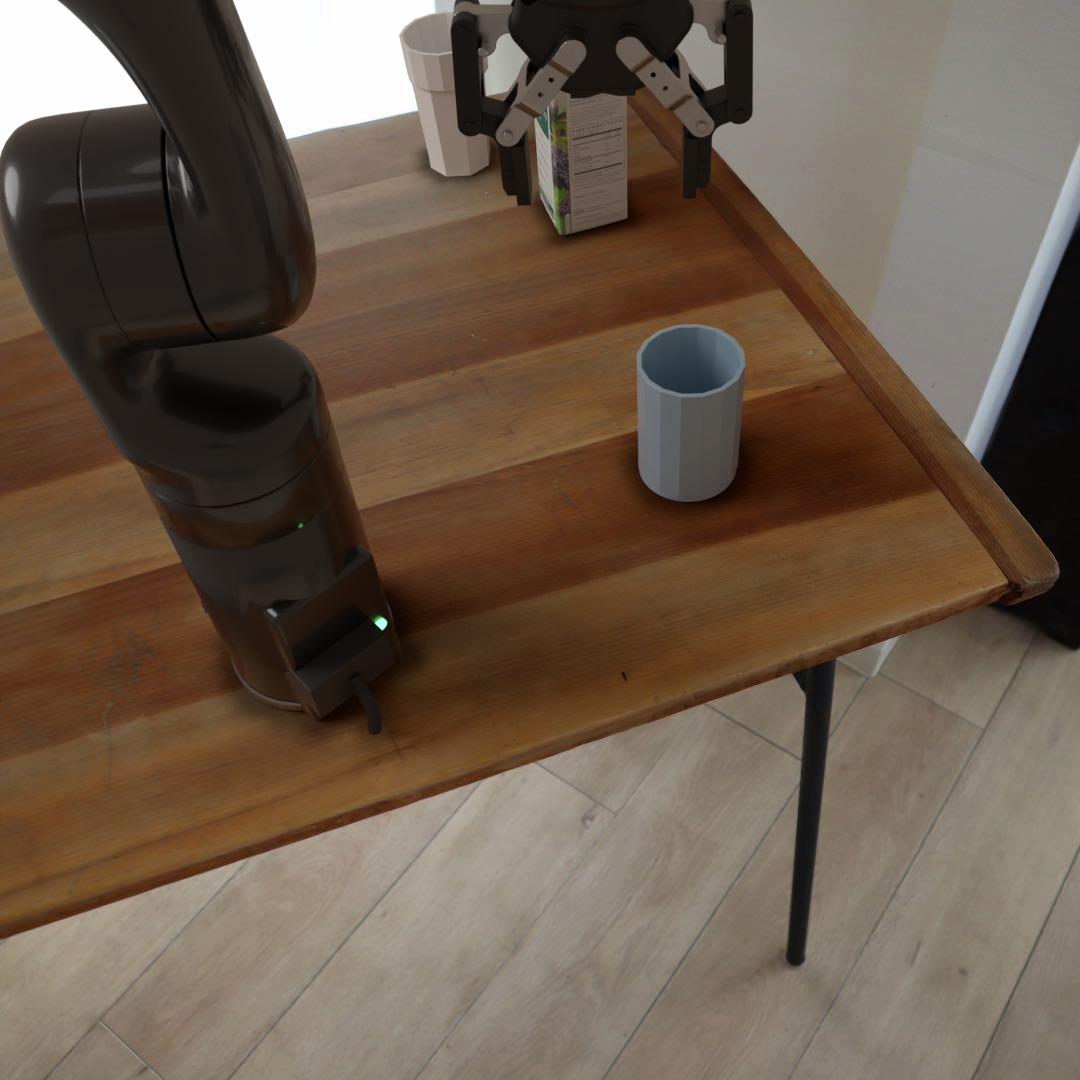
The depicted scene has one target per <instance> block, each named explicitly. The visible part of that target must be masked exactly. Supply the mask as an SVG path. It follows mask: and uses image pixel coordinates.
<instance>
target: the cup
mask: <svg viewBox="0 0 1080 1080" xmlns="http://www.w3.org/2000/svg"><path fill="white" fill-rule="evenodd" d="M452 18H453V11H447V10H445V11H440V12H435V13H429V14H426V15H423V16H420V17H418V18H414V19H413V20H412V21H410V22H409V23H408V24H406V25H405V26H404V27H403V28H402V30H401V31H400V33H399V34H398V37H399V41H400V46H401V51H402V55H403V59H404V65H405V69H406V74H407V76H408V81H410V83H411V86H412V89H413V94H414V98H415V103H416V107H417V111H418V117H419V120H420V124H421V127H422V128H421V129H422V133H423V137H424V141H425V145H426V150H427V155H428V160H429V165H430V168H431V169H433V170H434V171H436V172H438V173H439V174H441V175H442V176H444V177H445V178H449V177H450V178H451V177H468V176H469V177H470V176H472V175H474V174H476V173H478V172H479V171H481V170H483V169H484V168H486V167H488V166H490V158H491V157H490V156H491V146H490V145H491V144H490V137H489V136H487V135H483V134H478V135H476V136H473V137H469V136H465V135H463V134H462V133H461V132H460V131H459V129H458V123H457V110H456V97H455V84H454V71H453V58H452V45H451V24H452ZM488 57H489V56H486V57H483V67H484V85H485V96H486V97H487V88H486V87H487V86H486V72H487V70H488V69H489V58H488Z"/></svg>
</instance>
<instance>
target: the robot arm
mask: <svg viewBox="0 0 1080 1080" xmlns="http://www.w3.org/2000/svg"><path fill="white" fill-rule="evenodd" d="M57 1H58V2H59V4H61V5H63V6H64V7H65V8H66V9H67V10H68V11H69V12H70V13H71V14H72V15H73V16H75V18H77V20H79V21H80V22H81V23H82V24H83V25H84V26H85V27H86V28H87V29H88V30H89V31H90V32H91V33H92V34H93V35H94V36H95V37H96V38H97V40H99V41H100V43H101V44H103V46H104V47H105V48H106V49H107V50H108V52H110V54H111V55H112V56H113V57H114V59H115V60H116V61H117V62H118V64H119V65H120V66H121V67H122V69H123V70H124V71H125V72H126V74H127V75H128V77H129V78H130V79H131V81H132V82H133V84H134V85H135V86H136V88H137V89H138V91H139V92H140V93H141V95H142V96H143V98H144V99H145V101H146V103H139V104H129V105H123V106H115V107H113V106H112V107H104V108H98V109H89V110H80V111H74V112H73V111H72V112H64V113H58V114H52V115H46V116H41V117H38V118H34V119H31V120H28V121H27V122H25V123H22V124H21V125H20V126H18V127H16V128H15V129H14V131H13V132H12V133H11V134H10V136H9V137H8V138H7V140H6V141H5V143H4V145H3V147H2V149H1V152H0V225H1V229H2V230H1V231H2V234H3V237H4V240H5V244H6V247H7V251H8V255H9V257H10V260H11V263H12V267H13V268H14V271H15V273H16V276H17V277H18V280H19V282H20V284H21V286H22V289H23V291H24V293H25V295H26V297H27V300H28V302H29V304H30V306H31V308H32V310H33V312H34V314H35V315H36V317H37V319H38V321H39V322H40V324H41V326H42V327H43V329H44V331H45V333H46V334H47V336H48V338H49V340H50V342H51V344H52V345H53V346H54V348H55V350H56V352H57V353H58V354H59V356H60V358H61V359H62V361H63V363H64V364H65V367H66V368H67V369H68V370H69V372H70V374H71V376H72V377H73V379H74V381H75V382H76V384H77V385H78V387H79V388H80V391H81V392H82V393H83V395H84V397H85V398H86V400H87V403H88V404H89V405H90V407H91V409H92V411H93V413H94V414H95V416H96V418H97V419H98V421H99V423H100V424H101V426H102V429H103V430H104V432H105V434H106V436H107V437H108V439H109V440H110V442H111V444H112V445H113V447H114V448H115V449H116V450H117V452H118V453H119V454H120V455H121V457H123V458H124V459H125V460H126V461H127V462H129V463H130V464H131V465H133V467H134V469H135V471H136V473H137V474H138V477H139V479H140V481H141V483H142V485H143V487H144V489H145V491H146V493H147V495H148V497H149V500H150V501H151V503H152V504H153V507H154V509H155V511H156V513H157V515H158V517H159V519H160V521H161V524H162V526H163V527H164V529H165V531H166V534H167V535H168V537H169V539H170V542H171V544H172V546H173V547H174V549H175V551H176V553H177V555H178V557H179V559H180V561H181V563H182V565H183V567H184V570H185V571H186V573H187V576H188V577H189V578H190V581H191V583H192V586H193V587H194V589H195V592H196V593H197V595H198V597H199V599H200V604H201V607H202V608H203V610H204V612H205V614H206V615H208V617H209V619H210V621H211V623H212V625H213V627H214V629H215V631H216V633H217V635H218V637H219V638H220V640H221V642H222V644H223V646H224V648H225V650H226V651H227V654H228V655H229V657H230V661H231V665H232V667H233V670H234V672H235V674H236V676H237V678H238V679H239V682H240V683H241V685H242V686H243V687H244V689H245V690H246V691H247V692H248V693H249V694H250V695H251V696H253V697H254V698H255V699H257V700H259V701H260V702H262V703H264V704H266V705H268V706H271V707H274V708H277V709H281V710H287V711H298V712H300V711H301V712H304V713H306V714H308V716H309V717H310V718H312V720H314V721H316V722H319V721H321V720H322V719H324V718H325V717H327V716H328V715H330V713H332V712H333V711H334V710H336V709H337V708H338V707H340V706H341V705H343V704H344V703H345V702H346V701H348V700H349V699H350V698H352V697H353V696H357V698H358V699H359V701H360V703H361V705H362V707H363V709H364V712H365V715H366V719H367V732H368V733H369V735H372V736H378V735H379V734H380V733H382V727H383V726H382V721H383V716H382V713H381V710H380V707H379V704H378V701H377V700H376V698H375V696H374V694H373V693H372V691H371V689H370V687H369V685H370V684H371V682H373V681H374V680H375V679H376V678H378V677H379V676H380V675H382V674H384V673H385V672H386V671H387V670H388V669H390V668H391V667H392V666H394V665H395V664H396V663H398V662H399V661H400V660H401V659H402V658H403V651H402V648H401V645H400V641H399V637H398V634H397V631H396V628H395V622H394V617H393V613H392V610H391V607H390V604H389V602H388V600H387V597H386V594H385V591H384V587H383V584H382V580H381V577H380V573H379V571H378V568H377V564H376V561H375V557H374V555H373V553H372V550H371V547H370V544H369V540H368V536H367V533H366V531H365V526H364V524H363V521H362V518H361V517H362V516H361V514H360V511H359V507H358V503H357V501H356V498H355V497H356V496H355V493H354V490H353V487H352V484H351V480H350V477H349V473H348V470H347V467H346V464H345V460H344V456H343V453H342V449H341V446H340V442H339V439H338V435H337V431H336V429H335V426H334V423H333V418H332V416H331V413H330V409H329V406H328V403H327V402H328V401H327V399H326V396H325V392H324V389H323V385H322V382H321V379H320V376H319V375H318V372H317V370H316V368H315V367H314V365H313V363H312V362H311V360H310V359H309V358H308V356H307V355H306V354H305V353H304V352H303V351H302V350H301V349H300V348H298V346H296V345H295V344H294V343H292V342H291V341H289V340H287V339H285V338H284V337H282V336H280V335H278V334H275V333H276V332H279V331H281V330H284V329H287V328H289V327H291V326H292V325H294V324H296V323H297V322H298V321H299V320H300V318H302V316H303V315H305V313H306V311H307V310H308V309H309V306H310V304H311V301H312V300H313V296H314V291H315V286H316V281H317V251H316V240H315V235H314V229H313V223H312V219H311V215H310V210H309V204H308V201H307V198H306V194H305V190H304V187H303V184H302V183H303V182H302V180H301V176H300V174H299V173H300V172H299V170H298V167H297V164H296V161H295V159H294V155H293V153H292V151H291V147H290V144H289V141H288V139H287V136H286V133H285V131H284V128H283V125H282V122H281V121H280V118H279V114H278V112H277V110H276V107H275V105H274V103H273V102H274V101H273V100H272V97H271V95H270V92H269V90H268V87H267V84H266V82H265V81H266V80H265V79H264V77H263V73H262V71H261V69H260V65H259V64H258V61H257V58H256V56H255V54H254V51H253V48H252V45H251V43H250V40H249V38H248V35H247V33H246V30H245V28H244V24H243V22H242V20H241V17H240V14H239V12H238V9H237V7H236V4H235V1H234V0H57ZM452 12H453V18H452V24H451V45H452V58H453V71H454V84H455V97H456V110H457V123H458V129H459V131H460V132H461V133H462V134H463V135H465V136H469V137H473V136H476V135H478V134H483V135H487V136H489V138H491V139H492V140H493V141H494V142H495V143H496V145H497V150H498V159H499V166H500V167H499V168H500V175H501V185H502V189H503V191H504V192H505V194H506V196H507V197H514V196H515V197H516V205H517V207H524V206H527V207H528V206H532V195H533V175H532V174H533V173H532V165H531V164H532V163H531V153H530V144H529V132H528V129H529V128H530V126H531V125H532V124H533V122H535V118H536V117H540V116H541V115H542V114H543V112H544V111H545V109H546V108H547V107H548V105H549V104H550V103H551V101H552V100H553V98H554V97H555V96H556V94H557V93H558V92H559V90H560V91H562V92H565V93H568V94H570V97H571V99H577V98H588V97H592V96H595V95H598V94H602V93H605V94H610V95H615V96H627V97H633V96H635V97H636V95H637V94H636V92H637V91H639V90H641V89H643V88H645V87H646V88H647V90H648V91H650V93H651V94H652V95H653V96H654V97H655V98H656V100H658V101H657V102H659V103H660V104H661V105H662V106H663V108H664V109H665V110H666V111H668V112H672V113H673V114H674V115H675V116H676V117H677V118H678V120H679V121H680V122H681V155H680V157H681V160H680V161H681V162H680V163H681V164H680V165H681V166H680V184H681V197H682V198H681V199H682V200H695V199H697V192H698V191H697V189H706V188H707V186H708V184H709V182H710V180H711V171H712V170H711V167H712V149H713V148H712V147H713V137H714V133H715V131H716V130H717V129H719V128H720V127H721V126H723V125H726V124H729V123H732V124H734V125H743V124H745V123H747V122H749V121H750V120H751V119H752V117H753V114H754V113H753V112H754V97H753V96H754V12H753V4H752V0H512V1H511V3H510V4H487V3H485V4H481V2H480V0H455V1H454V6H453V11H452ZM693 24H699V25H701V26H703V27H704V28H705V29H706V32H707V36H708V37H707V38H708V39H709V40H710V41H711V42H712V43H714V44H717V45H720V46H721V45H723V84H721V85H719V86H718V85H717V86H716V87H713V88H711V89H707V87H706V86H705V85H704V84H703V82H702V81H701V80H700V79H699V78H698V76H697V75H696V74H695V73H694V72H693V70H692V69H691V68H690V65H689V63H688V61H687V59H686V57H685V56H684V55H683V53H682V52H681V51H680V50H679V48H678V47H679V46H680V44H681V43H682V42H683V41H684V39H685V38H686V37H687V35H688V34H689V33H690V31H691V29H692V28H693ZM506 34H509V35H510V38H511V40H512V41H513V42H514V43H515V44H516V45H517V46H518V48H519V49H520V50H521V51H522V52H523V53H524V55H526V57H527V58H526V59H525V60H524V62H523V63H522V65H521V67H520V69H519V72H518V75H517V77H516V78H515V80H514V81H513V83H512V84H511V86H509V89H508V90H507V91H506V93H505V94H504V96H503V97H502V98H501V100H500V99H497V98H494V97H489V96H487V95H486V96H485V86H486V84H485V85H484V67H483V57H486V56H488V57H489V56H491V55H492V54H494V53H495V51H496V48H497V42H498V40H499V39H500V38H501V37H502V36H503V35H506Z"/></svg>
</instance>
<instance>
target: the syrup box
mask: <svg viewBox="0 0 1080 1080" xmlns="http://www.w3.org/2000/svg"><path fill="white" fill-rule="evenodd" d="M534 132H535V143H536V144H535V145H536V159H537V160H536V161H537V173H538V182H539V183H538V184H539V197H540V200H541V202H542V203H543V205H544V207H545V210H546V212H547V214H548V216H549V217H550V219H551V221H552V223H553V226H554V227H555V228H556V231H557V232H558V234H559V235H560V236H566V235H571V234H574V233H579V232H581V231H586V230H590V229H594V228H598V227H601V226H605V225H608V224H613V223H615V222H619V221H624V220H627V219H628V207H629V206H628V96H615V95H610V94H605V93H602V94H598V95H595V96H592V97H588V98H577V99H571V97H570V94H568V93H565V92H562V91H560V90H559V92H558V93H557V94H556V96H555V97H554V98H553V100H552V101H551V103H550V104H549V105H548V107H547V108H546V109H545V111H544V112H543V114H542V115H541V116H540V117H536V118H535V119H534Z"/></svg>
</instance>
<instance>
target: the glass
mask: <svg viewBox="0 0 1080 1080" xmlns="http://www.w3.org/2000/svg"><path fill="white" fill-rule="evenodd" d="M745 356H746V355H745V350H744V349H743V347H742V346H741V345H740V344H739V342H738V340H737V339H736V338H735V337H734V336H732V335H730V334H729V333H728V332H726V331H724V330H722V329H720V328H718V327H714V326H711V325H710V326H709V325H705V324H701V323H691V324H690V323H684V324H675V325H672V326H669V327H666V328H663V329H660V330H658V331H656V332H655V333H653V334H652V335H651V336H649V337H647V338H646V339H645V340H644V341H643V342H642V344H641V346H640V347H639V349H638V351H637V352H636V397H637V398H636V400H637V401H636V403H637V405H636V406H637V457H638V458H637V459H638V460H637V463H638V465H637V466H638V472H639V476H640V478H641V480H642V482H643V483H644V484H645V485H646V486H647V488H648V489H649V490H651V491H652V492H653V493H655V494H656V495H658V496H660V497H662V498H665V499H668V500H671V501H675V502H682V503H693V502H701V501H706V500H709V499H711V498H714V497H715V496H717V495H719V494H721V493H722V492H724V491H725V490H726V489H727V488H729V486H730V485H731V484H732V483H733V480H734V479H735V477H736V475H737V468H738V465H739V453H740V443H741V428H742V415H743V403H744V391H745V377H746V367H747V366H746V358H745Z"/></svg>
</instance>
